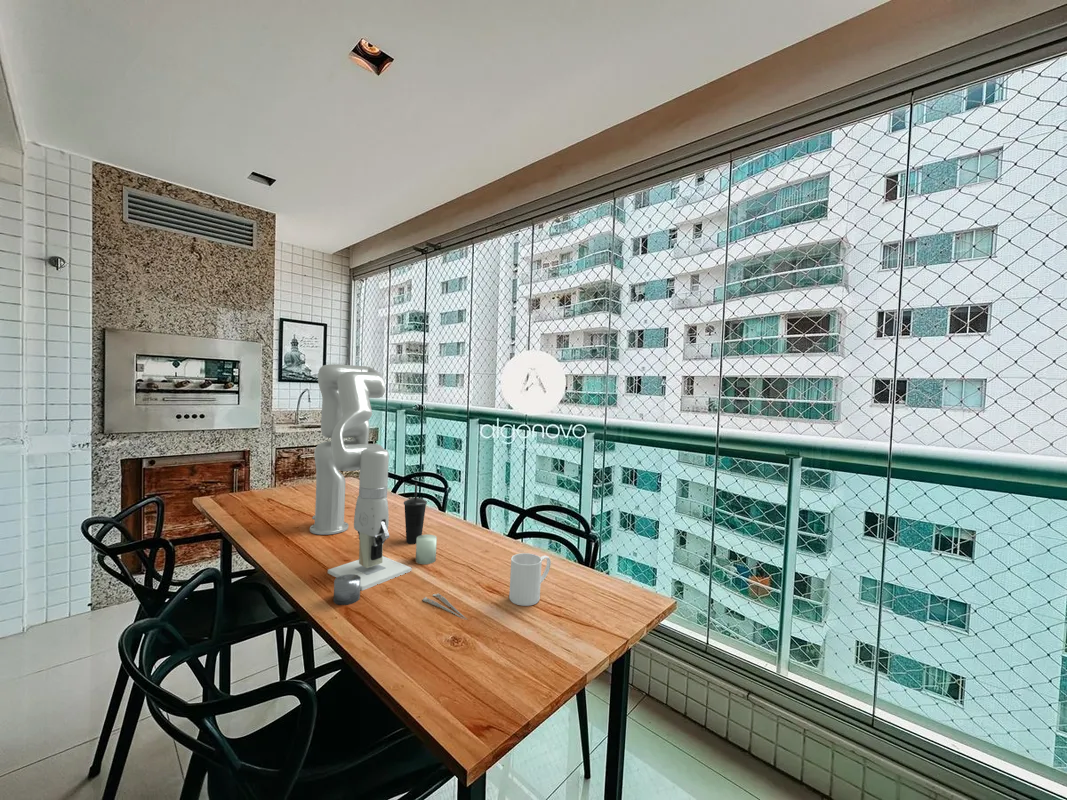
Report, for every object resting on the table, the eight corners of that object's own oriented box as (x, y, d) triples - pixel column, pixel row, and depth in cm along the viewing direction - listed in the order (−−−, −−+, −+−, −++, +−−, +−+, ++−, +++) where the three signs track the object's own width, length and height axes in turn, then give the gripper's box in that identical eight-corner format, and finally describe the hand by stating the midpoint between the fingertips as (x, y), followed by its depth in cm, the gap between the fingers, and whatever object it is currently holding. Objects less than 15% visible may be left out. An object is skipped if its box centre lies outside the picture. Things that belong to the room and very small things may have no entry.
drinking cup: (428, 538, 155) (430, 481, 154) (420, 546, 148) (423, 486, 147) (407, 536, 156) (409, 480, 155) (398, 544, 148) (400, 484, 148)
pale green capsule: (411, 560, 136) (412, 538, 136) (426, 555, 141) (427, 533, 141) (424, 566, 132) (425, 542, 132) (439, 560, 137) (440, 537, 137)
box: (374, 558, 130) (376, 521, 129) (382, 563, 127) (384, 524, 127) (357, 564, 126) (359, 525, 125) (365, 568, 123) (367, 529, 123)
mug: (522, 609, 110) (524, 567, 109) (503, 597, 116) (505, 557, 115) (558, 596, 118) (560, 557, 117) (538, 585, 124) (540, 547, 123)
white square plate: (327, 573, 124) (327, 569, 124) (377, 556, 137) (377, 553, 137) (362, 590, 115) (362, 586, 115) (411, 571, 128) (411, 567, 128)
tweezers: (420, 602, 112) (421, 594, 112) (436, 596, 115) (437, 589, 115) (465, 635, 100) (466, 626, 100) (481, 628, 104) (482, 619, 104)
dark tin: (328, 599, 110) (329, 579, 110) (350, 591, 115) (351, 572, 115) (342, 607, 106) (343, 587, 106) (364, 598, 111) (365, 579, 111)
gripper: (343, 489, 127) (341, 552, 128) (380, 500, 118) (377, 568, 118) (366, 485, 134) (364, 545, 134) (403, 495, 124) (400, 560, 125)
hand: (370, 555), depth 126 cm, fingers closed on box, 4 cm apart
